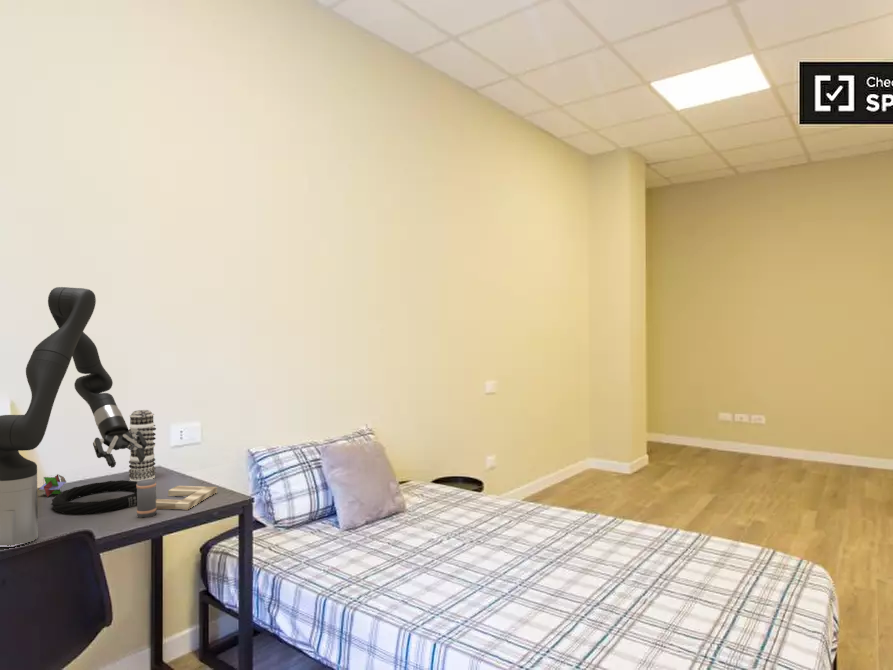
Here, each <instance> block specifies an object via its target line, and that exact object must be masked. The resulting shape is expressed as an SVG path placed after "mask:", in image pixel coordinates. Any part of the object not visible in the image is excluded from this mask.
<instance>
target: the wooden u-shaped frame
mask: <svg viewBox="0 0 893 670" xmlns="http://www.w3.org/2000/svg"><path fill="white" fill-rule="evenodd" d="M215 493H216V494H217V493H218V487H217V486H200V485H199V486H198V485H197V486H196V485H195V486H194V485H176V486H175V487H172V488H170V489H168V490H167V497H168V496H188V497H183V499H167V498H166V499H165V498H164V499H162V498H156V510H162V509H185V510H184V511H189V510H191V509H192V507H193V506H194V507H196V506H198V505H199V504H201V503H202V502H201V501H203V500H204V499H206V498H207V497H209V496H211V495H213V494H214V495H216V494H215ZM214 495H213V496H214ZM211 497H212V496H211ZM209 498H210V497H209ZM206 500H207V499H206ZM204 501H205V500H204ZM204 501H203V502H204ZM200 502H201V503H200ZM198 503H199V504H198ZM197 504H198V505H197ZM195 505H196V506H195ZM194 507H193V508H194ZM190 508H191V509H190ZM188 509H189V510H188Z"/></svg>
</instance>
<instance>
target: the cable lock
mask: <svg viewBox="0 0 893 670" xmlns="http://www.w3.org/2000/svg"><path fill="white" fill-rule="evenodd" d="M137 482H138V481H130V480H123V479H122V480H121V479H120V480H108V481H103V482H93V483H90V484H83V485H81V486H74V487H71V488H70V489H69V488H68V489H65V490H62V491H61V493H60V494H55V495H54V498H52V499H51V503H50V505H52V506H51V508H52V509H54V511H56V512H57V513H58V512H59V513H61V514H67V515H68V514H69V515H87V513H91V514H100V513H99V512H101V513H105V512H106V511H107V512H112V510H113V511H117V509H118V510H120V509H124V507H125V508H132V507H135V506H137V486H136V485H137ZM117 490H126V491H125V492H133V493H132V494H126V495H124V496H121V497H120V496H119V497H116V498H112V499H111V498H110V499H104V500H98V501H97V500H94V501H85V502H84V501H83V502H81V501H78V502H77V501H72V500H74V499H77V498H80V497H79V496H81V497H84V496H83V495H85V496H88V495H92V494H91V493H94V494H99V493H98V492H101V493H104V491H108V492H118V491H117ZM134 491H135V492H134ZM71 499H72V500H71ZM127 506H128V507H127ZM131 506H132V507H131Z"/></svg>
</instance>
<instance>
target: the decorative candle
mask: <svg viewBox="0 0 893 670" xmlns="http://www.w3.org/2000/svg"><path fill="white" fill-rule="evenodd" d="M154 415H155V414H154V413H152V411H151V410H149V409H139V410H134V411H132V413H130V414H129V421H130V422H129V428H128V430H129V432H130V433H131V434H136V433H137V432H138V431H140V432H141V434H142V435H143V437H144V439H145V441H146V443H147V446H146V448H145V450H143V452H144V454H145V458H144V460H143V462H140V461H139V459H138V457H137V455H136V453H137V452H135V451H133V450H130V455H129V461H128V463H129V465H128V468H130V469H129V470H128V472H129V474H128V476H129V479H130V480H131V481H141V480H147V479H153V478H154V479H155V478H156V475H155V474H156V471H155V470H156V468H157V467H156V466H155V465H156V462H155V461H156V458H155V453H154V451H155V449H154V448H155V446H156V442H154V441H155V440H156V439H157V438H156V437H155V436H156V433H155V431H156V430H157V428H156V424H155V422H154ZM132 439H133V438H132ZM133 440H134V439H133ZM136 442H137V441H136ZM129 445H132V444H131V443H130V444H129ZM130 480H129V481H130Z"/></svg>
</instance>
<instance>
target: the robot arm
mask: <svg viewBox="0 0 893 670" xmlns="http://www.w3.org/2000/svg"><path fill="white" fill-rule="evenodd" d="M96 303H97V299H96V294H95V292H94V291H93V290H91V289H88V288H84V287H83V288H82V287H70V286H69V287H68V286H67V287H65V286H64V287H63V286H57V287H54V288H52V289H51V290H50V292H49V294H48V298H47V304H48V305H47V306H48V310H49V311H50V314H51V316H52V318H53V319H54V322H55V323H56V326H57V327H58V329H57V330H55V331H54V332H53V333H51V334H49V336H47V337H46V338H44V339H43V340H42V341H40V342H39V343H38V344H37V345H36V346H35V348H34V349H33V351H32V353H31V355H30V358H29V359H28V362H27V364H26V367H25V376H26V380H27V383H28V386H29V389H30V393H31V394H30V395H31V400H30V403H29V406H28V408H27V411H26V412H25V414H2V415H0V545H7V546H9V545H10V546H11V545H15V544H20V543H27V542H30V543H32V542H31V541H33V540H35V539H36V540H38V539H39V538H38V537H39V516H38V515H39V513H38V512H39V511H38V510H39V509H38V506H39V505H38V503H39V502H38V465H37V463H36V462H35V461H33V460H30V459H28V458H26V457H24V456H23V455H22V454H20V451H23V452H24V451H32V450H34V449H36V448H38V446H39V445H40V444H41V442H42V441H43V439H44V437H45V434H46V431H47V428H48V425H49V422H50V421H49V420H50V417H51V413H52V409H53V407H54V404H55V401H56V398H57V395H58V392H59V389H60V387H61V384H62V382H63V381H64V377H65V376H66V373H67V372H68V371H67V370H68V369H69V365H70V363H71V360H73V362H74V366H75V369H76V371H77V372H78V373H80V374H83V375H82V376H79V377H77V378H76V379H75V382H74V389H75V392H76V393H77V394H78V395H79V396H80V398H81V399H83V400H84V401H85V402H86V404H87V405H88V406H89V408H90V410H91V413H92V415H93V417H94V421H95V425H96V427H97V429H98V432H99V434H100V436H101V438H100V437H95V438H94V440H93V442H92V445H93V448H94V449H93V450H94V452H95V455H96V458H98V459H101V458H103V459H105V461H106V463H107V465H108V466H109V467H110V468H115V467H116V464H117V462H116V460H115V457H114V456H113V454H112V451H113V450H115V451H118V450H125V449H127V450H130V451H131V450H133V451H135V452H137V453H136V455H137V457H138V459H139V461H140V462H143V460H144V458H145V454H144V452H143V450H145V448H146V446H147V443H146V441H145V439H144V437H143V435H142V434H141V432H140V431H138V432H137V433H136V434H131V433H130V432H129V427H128V425H127V423H126V420H125V418H124V417H123V413H122V411H121V410H120V409H119V407H118V405H117V404H116V401H115V398H114V396H113V395H112V394H111V393H109V392H108V391H109V390H111V389H112V388H113V387H112V386H113V385H114V383H113V378H112V377H111V376H110V374H109V373H108V371H107V370H106V369H105V367H104V365H103V364H102V361H101V359H100V355H99V352H98V351H99V350H98V348H97V346H96V344H95V342H94V341H93V340H92V339H91V338H90V337H89V336H88V335H87V334H86V333H85V332H84V331H85V329H86V327H87V325H88V323H89V322H90V320H91V318H92V316H93V314H94V310H95V309H96ZM132 438H133V439H134V440H133V439H132ZM136 441H137V442H136ZM130 443H131V444H132V445H129V444H130ZM103 445H105V446H107V447H108V448H107V450H106V451H104V448H103ZM36 540H35V541H36ZM33 542H34V541H33ZM27 544H28V543H27Z"/></svg>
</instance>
